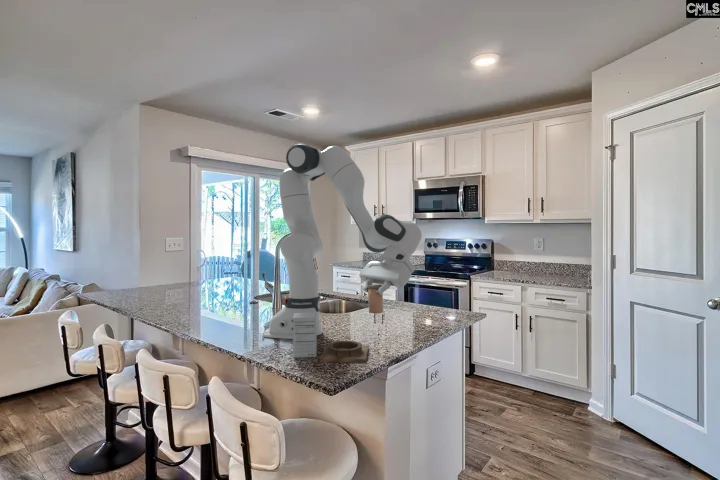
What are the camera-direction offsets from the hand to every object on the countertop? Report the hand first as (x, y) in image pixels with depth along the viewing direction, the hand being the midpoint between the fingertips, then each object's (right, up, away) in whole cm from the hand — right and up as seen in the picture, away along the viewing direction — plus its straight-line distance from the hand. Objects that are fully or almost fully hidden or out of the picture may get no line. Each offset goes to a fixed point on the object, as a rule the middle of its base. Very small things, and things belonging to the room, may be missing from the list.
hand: (371, 292), depth 130 cm
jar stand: (-9, -19, -6) cm, 22 cm away
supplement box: (-22, -19, -4) cm, 29 cm away
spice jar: (+1, -7, +1) cm, 7 cm away
